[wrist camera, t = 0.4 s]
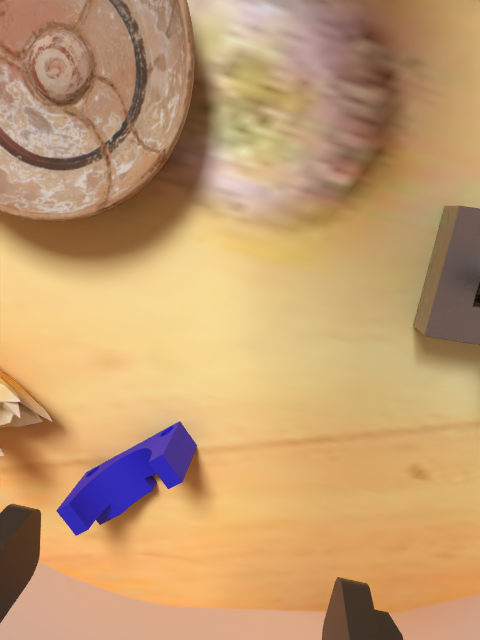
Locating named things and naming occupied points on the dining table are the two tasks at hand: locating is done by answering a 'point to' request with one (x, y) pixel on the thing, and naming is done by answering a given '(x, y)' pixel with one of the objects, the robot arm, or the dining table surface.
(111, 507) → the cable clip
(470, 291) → the socket block
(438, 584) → the dining table surface
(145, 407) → the dining table surface
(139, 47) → the ceramic bowl
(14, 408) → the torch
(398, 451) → the dining table surface
